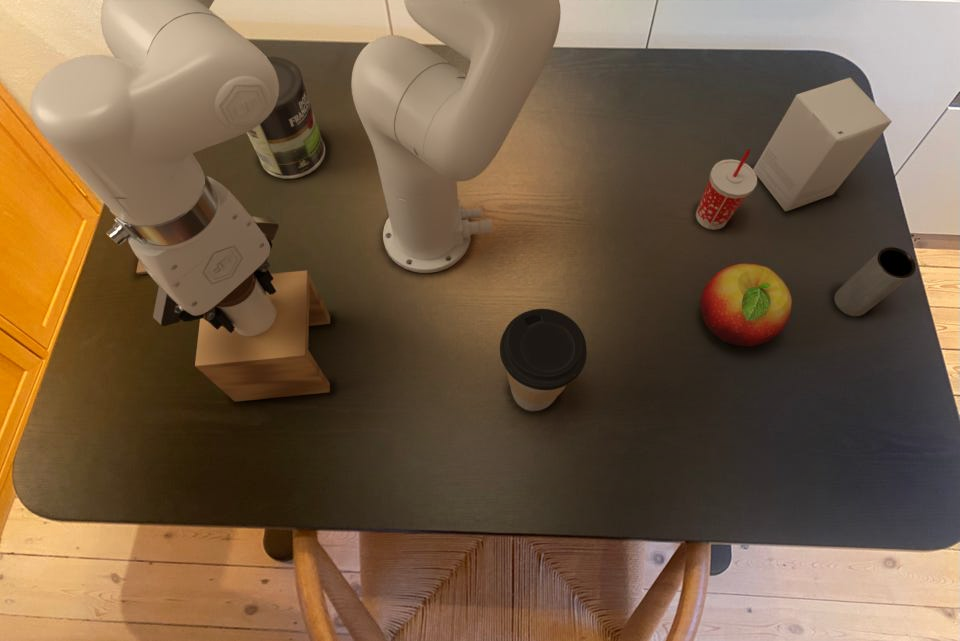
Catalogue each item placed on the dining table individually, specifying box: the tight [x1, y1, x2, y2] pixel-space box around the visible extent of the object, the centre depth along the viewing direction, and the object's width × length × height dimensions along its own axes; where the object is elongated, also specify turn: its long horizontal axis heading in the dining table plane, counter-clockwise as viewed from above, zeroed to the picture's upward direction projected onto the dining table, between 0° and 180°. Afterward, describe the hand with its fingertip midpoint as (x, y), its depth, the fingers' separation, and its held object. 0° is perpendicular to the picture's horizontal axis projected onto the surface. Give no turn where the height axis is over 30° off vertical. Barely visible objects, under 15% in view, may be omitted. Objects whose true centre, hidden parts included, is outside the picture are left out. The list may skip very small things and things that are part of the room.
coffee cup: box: [499, 308, 588, 412], centre depth 70 cm, size 9×9×15 cm
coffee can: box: [246, 56, 326, 180], centre depth 89 cm, size 10×10×14 cm
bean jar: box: [215, 272, 276, 336], centre depth 65 cm, size 5×5×8 cm
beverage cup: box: [695, 148, 758, 231], centre depth 83 cm, size 6×6×14 cm
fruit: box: [699, 263, 793, 347], centre depth 77 cm, size 11×11×10 cm
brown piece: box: [194, 270, 331, 403], centre depth 74 cm, size 12×11×12 cm
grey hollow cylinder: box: [833, 246, 917, 317], centre depth 78 cm, size 4×4×10 cm
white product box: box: [752, 77, 893, 212], centre depth 85 cm, size 9×9×15 cm
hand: (244, 304), depth 66 cm, fingers closed on bean jar, 5 cm apart
